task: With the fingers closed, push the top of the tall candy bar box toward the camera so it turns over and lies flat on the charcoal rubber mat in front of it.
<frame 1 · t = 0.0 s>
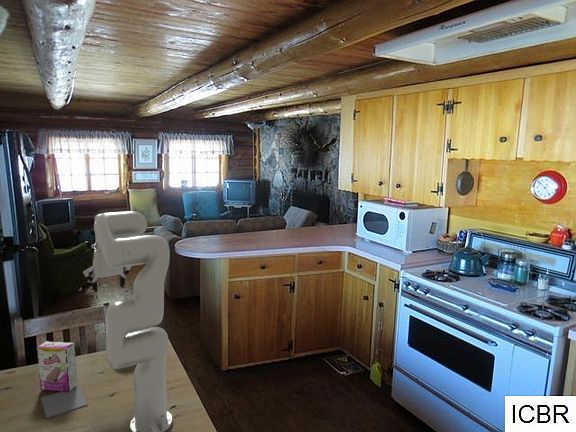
hand: (108, 289, 161), 31 cm above the table, tool pointing down, fingers open, 9 cm apart
rubber mat: (63, 402, 141), on the table
candy bar box: (59, 388, 148), on the table, touching rubber mat
donuts: (126, 357, 172), on the table
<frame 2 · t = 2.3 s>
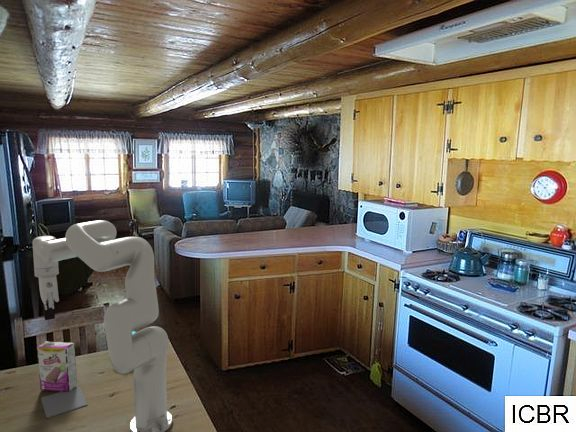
hand: (49, 318, 153), 23 cm above the table, tool pointing down, fingers closed
nothing on the table moved.
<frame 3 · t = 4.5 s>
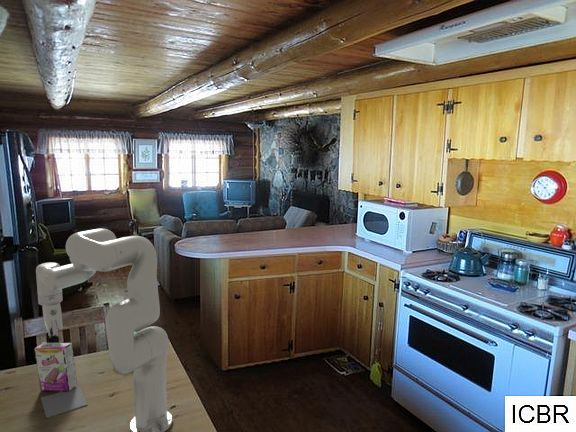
hand: (53, 345, 151), 14 cm above the table, tool pointing down, fingers closed
candy bar box: (59, 388, 148), on the table, touching rubber mat
everything else where it was.
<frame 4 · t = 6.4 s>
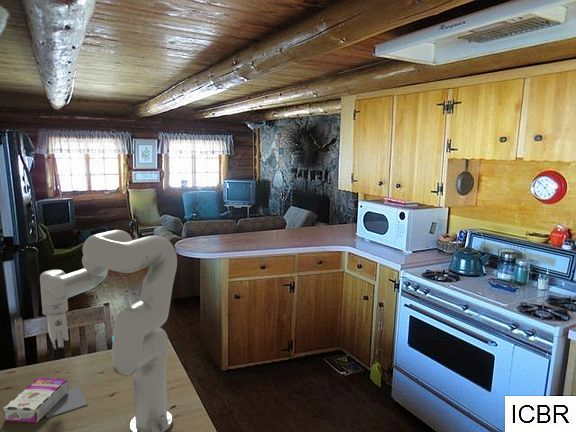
hand: (59, 358, 142), 14 cm above the table, tool pointing down, fingers closed
candy bar box: (54, 384, 146), point 3 cm above the table, touching rubber mat
everything else where it was.
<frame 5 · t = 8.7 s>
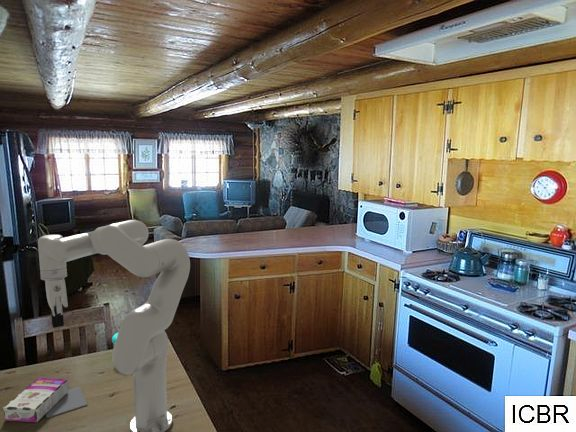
hand: (58, 325, 139), 26 cm above the table, tool pointing down, fingers closed
nothing on the table moved.
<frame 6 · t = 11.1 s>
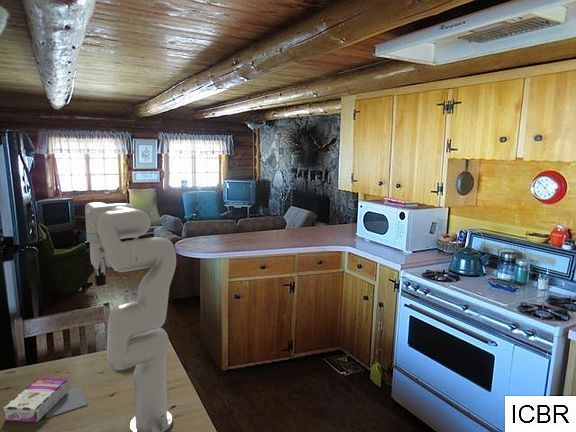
hand: (100, 284, 154), 35 cm above the table, tool pointing down, fingers closed
nothing on the table moved.
at the end: candy bar box tilted 92°; candy bar box inside the target area (2.1 cm from its centre), point 3.0 cm above the table; the gripper is holding nothing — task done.
